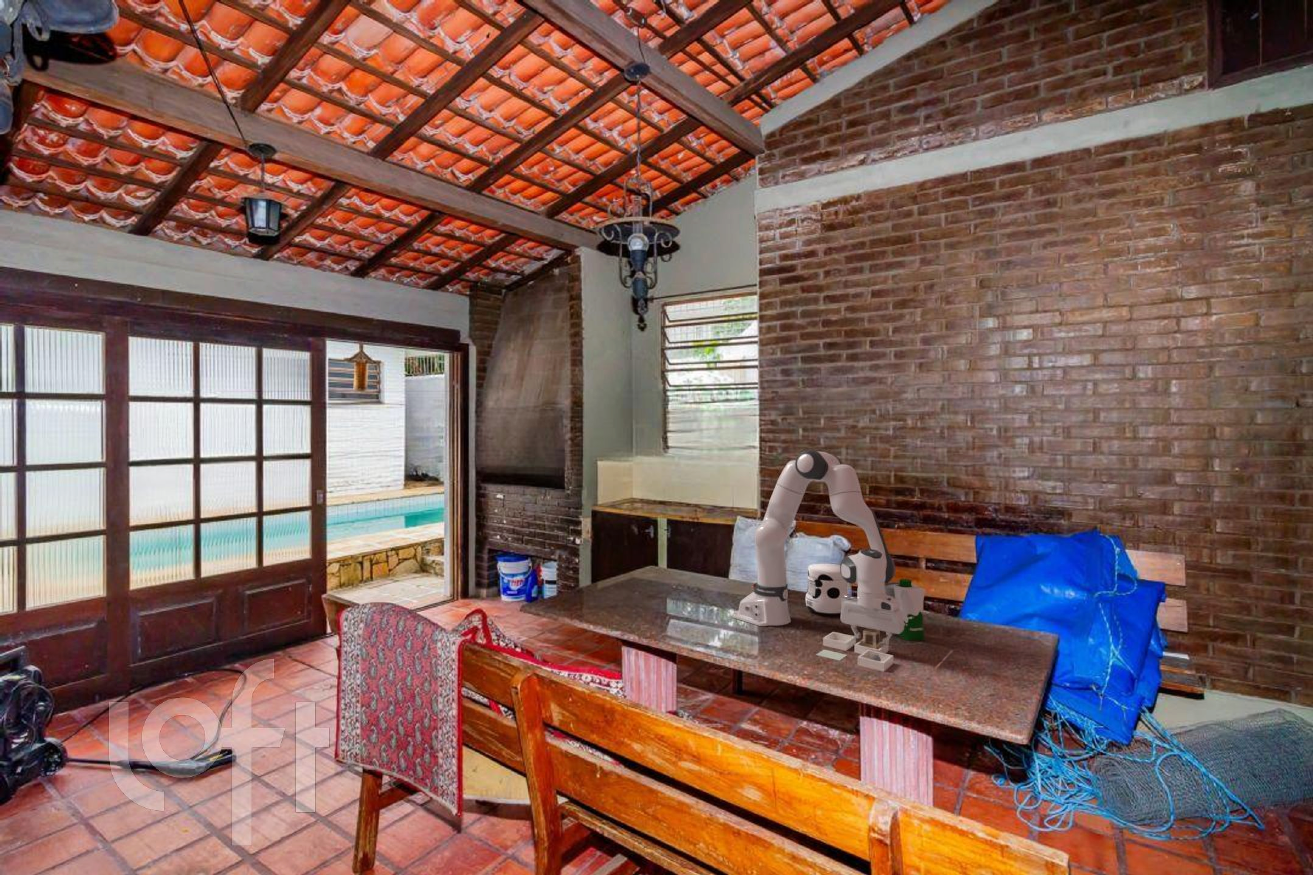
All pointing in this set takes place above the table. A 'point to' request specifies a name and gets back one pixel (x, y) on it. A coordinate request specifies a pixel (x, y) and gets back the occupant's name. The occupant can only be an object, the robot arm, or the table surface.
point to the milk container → (825, 589)
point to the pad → (831, 655)
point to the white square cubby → (861, 649)
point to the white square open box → (877, 665)
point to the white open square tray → (839, 641)
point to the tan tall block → (871, 638)
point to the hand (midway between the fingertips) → (871, 641)
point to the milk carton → (910, 609)
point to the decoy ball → (875, 657)
